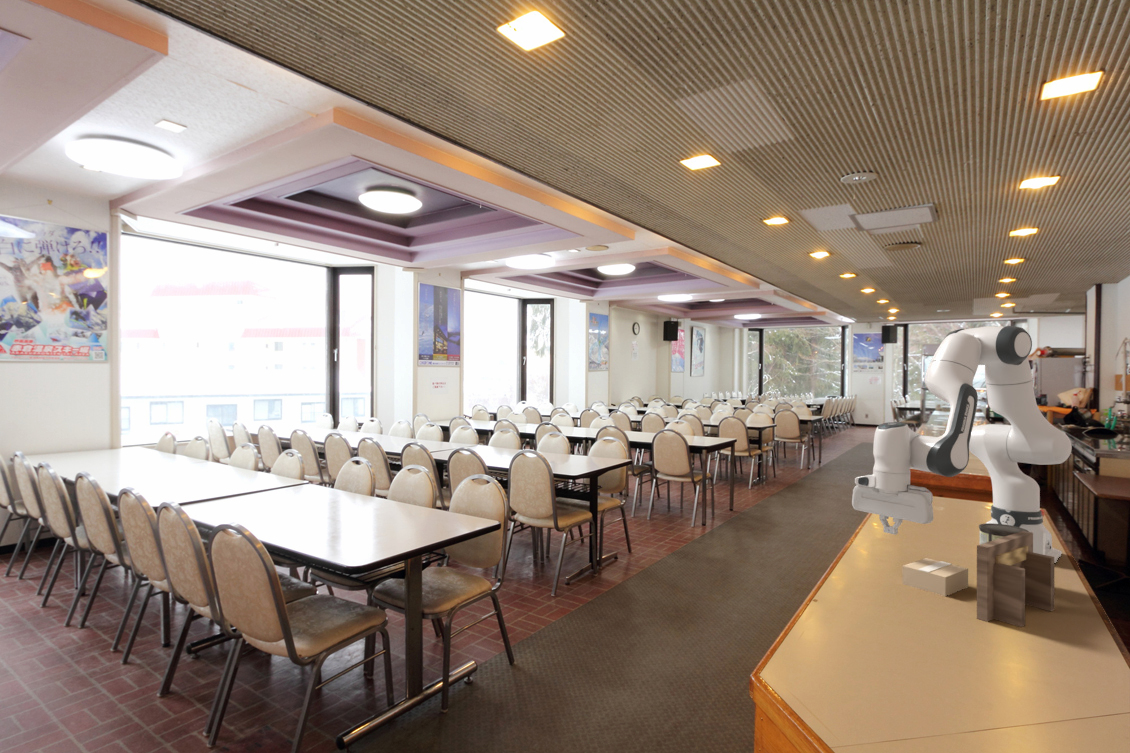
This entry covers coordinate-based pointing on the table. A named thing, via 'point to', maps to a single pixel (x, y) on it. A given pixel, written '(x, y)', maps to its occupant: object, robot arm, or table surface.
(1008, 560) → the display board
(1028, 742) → the table surface
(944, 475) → the robot arm
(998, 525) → the coffee can
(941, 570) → the carton
